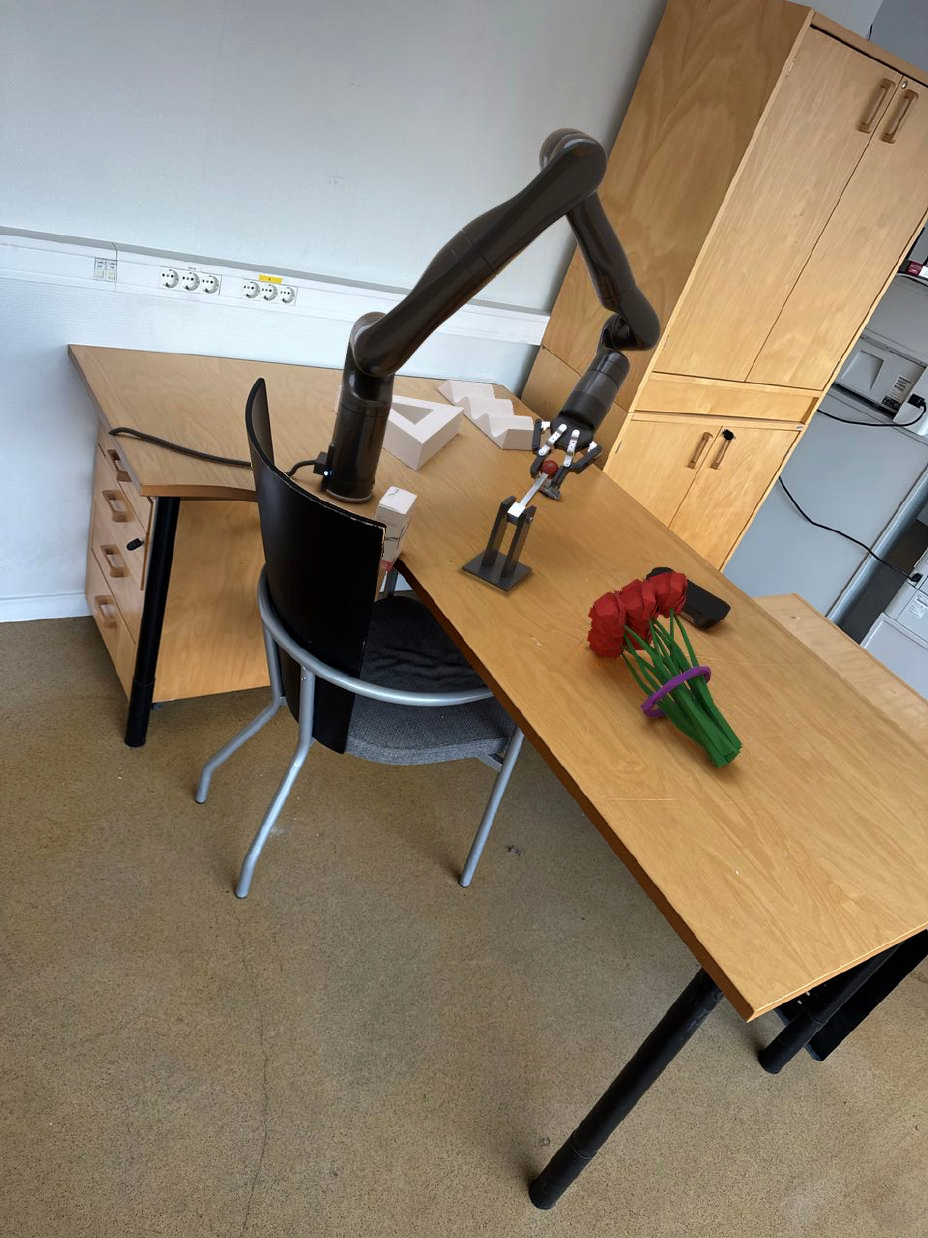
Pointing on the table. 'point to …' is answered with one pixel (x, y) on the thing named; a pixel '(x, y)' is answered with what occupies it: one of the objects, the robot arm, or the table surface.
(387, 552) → the ink box
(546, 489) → the crumpled paper
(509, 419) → the file organizer
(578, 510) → the table surface
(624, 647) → the bouquet
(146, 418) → the table surface
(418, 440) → the triangle block
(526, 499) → the lever
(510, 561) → the bracket
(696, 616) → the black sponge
